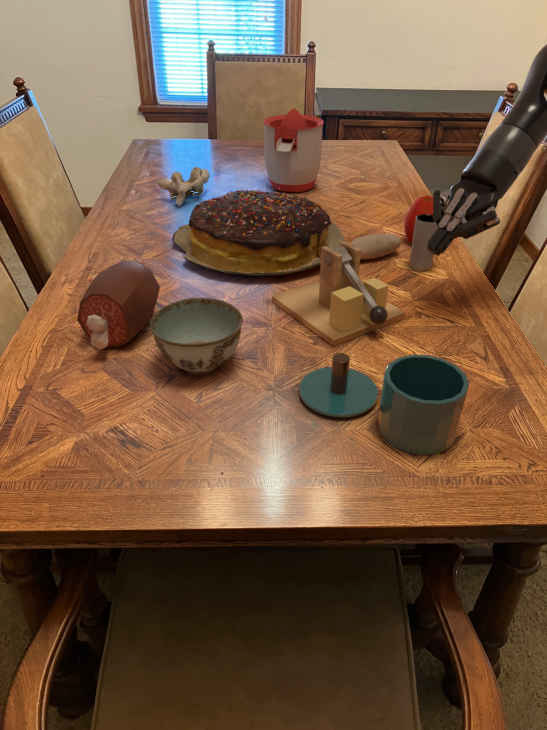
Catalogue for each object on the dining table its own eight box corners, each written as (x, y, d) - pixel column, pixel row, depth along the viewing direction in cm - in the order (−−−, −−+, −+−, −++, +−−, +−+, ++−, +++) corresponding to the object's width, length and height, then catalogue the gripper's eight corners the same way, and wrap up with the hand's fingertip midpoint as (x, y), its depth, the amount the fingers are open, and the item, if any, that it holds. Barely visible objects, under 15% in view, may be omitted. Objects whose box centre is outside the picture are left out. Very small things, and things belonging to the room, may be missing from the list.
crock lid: (386, 384, 85) (392, 347, 81) (362, 430, 77) (367, 391, 73) (316, 365, 89) (318, 328, 85) (286, 406, 81) (287, 368, 77)
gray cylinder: (434, 264, 118) (443, 216, 112) (426, 273, 114) (435, 224, 108) (413, 259, 120) (420, 212, 114) (405, 267, 116) (412, 219, 110)
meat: (135, 365, 88) (125, 308, 82) (65, 358, 90) (51, 301, 84) (175, 303, 104) (169, 251, 99) (115, 297, 106) (106, 246, 100)
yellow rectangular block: (384, 316, 98) (388, 285, 95) (373, 320, 97) (377, 289, 94) (371, 308, 101) (374, 277, 97) (360, 312, 100) (363, 281, 96)
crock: (462, 416, 79) (475, 366, 74) (446, 464, 71) (459, 412, 66) (390, 396, 82) (398, 347, 77) (368, 440, 75) (374, 389, 70)
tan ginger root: (162, 205, 149) (154, 173, 145) (202, 189, 156) (196, 159, 152) (182, 208, 143) (174, 175, 139) (224, 191, 151) (217, 160, 146)
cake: (301, 207, 145) (301, 167, 140) (377, 263, 117) (381, 216, 111) (159, 232, 134) (153, 189, 128) (205, 299, 106) (200, 249, 100)
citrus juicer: (254, 194, 152) (252, 114, 140) (273, 175, 165) (273, 100, 154) (311, 200, 148) (314, 118, 137) (326, 180, 162) (330, 104, 150)
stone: (338, 245, 119) (382, 218, 122) (349, 272, 121) (392, 245, 124) (353, 246, 114) (399, 218, 117) (364, 274, 116) (408, 246, 119)
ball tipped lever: (386, 324, 95) (394, 315, 92) (372, 330, 94) (380, 320, 91) (339, 255, 99) (346, 244, 97) (326, 259, 98) (332, 248, 95)
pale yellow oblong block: (360, 325, 96) (363, 294, 92) (341, 332, 94) (344, 300, 91) (347, 317, 98) (350, 285, 95) (328, 323, 96) (331, 292, 93)
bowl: (247, 340, 94) (246, 298, 90) (240, 391, 83) (238, 345, 79) (165, 339, 95) (159, 296, 90) (147, 389, 84) (140, 343, 79)
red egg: (433, 253, 122) (441, 204, 116) (396, 245, 126) (402, 197, 119) (443, 239, 128) (452, 192, 122) (408, 232, 131) (414, 185, 125)
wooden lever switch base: (404, 318, 100) (414, 256, 93) (333, 346, 93) (338, 281, 86) (339, 279, 112) (343, 221, 105) (271, 301, 105) (271, 241, 98)
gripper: (458, 138, 93) (393, 227, 94) (528, 158, 84) (455, 255, 86) (473, 166, 98) (412, 249, 100) (540, 187, 89) (472, 278, 91)
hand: (432, 252), depth 93 cm, fingers closed
